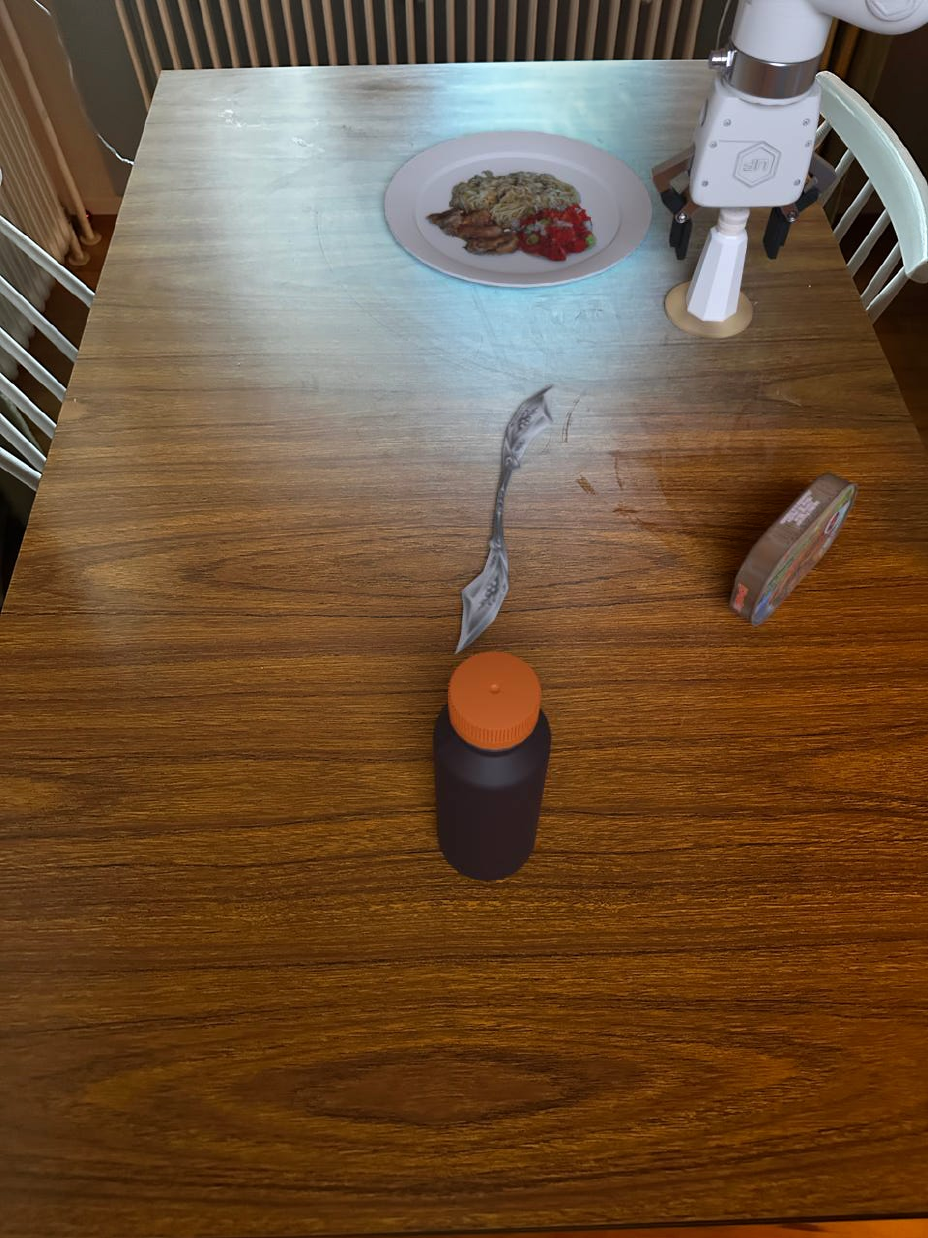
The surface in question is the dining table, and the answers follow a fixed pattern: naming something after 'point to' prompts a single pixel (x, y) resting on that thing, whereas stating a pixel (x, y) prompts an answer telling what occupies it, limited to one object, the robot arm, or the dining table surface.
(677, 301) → the cork coaster
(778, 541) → the tin
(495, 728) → the bottle
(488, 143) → the plated food
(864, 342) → the dining table surface
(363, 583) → the dining table surface
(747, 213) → the pepper shaker
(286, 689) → the dining table surface
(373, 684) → the dining table surface
